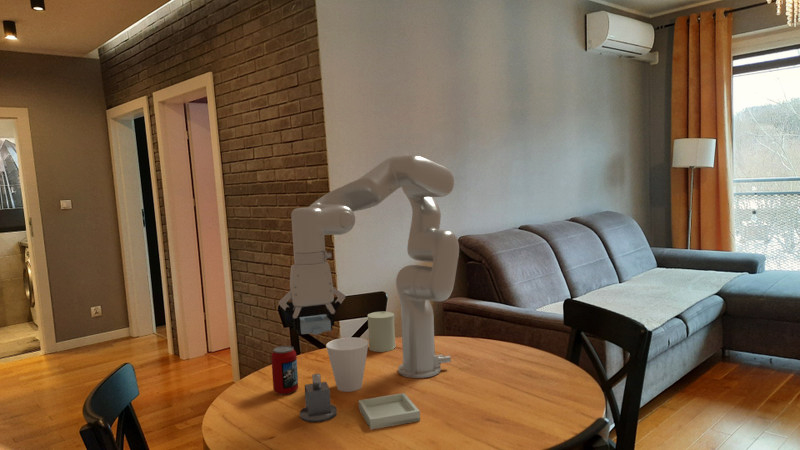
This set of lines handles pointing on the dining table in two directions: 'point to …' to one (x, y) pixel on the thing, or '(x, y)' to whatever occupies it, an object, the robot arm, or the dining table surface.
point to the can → (381, 331)
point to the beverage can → (284, 370)
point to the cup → (348, 362)
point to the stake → (317, 402)
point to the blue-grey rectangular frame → (315, 324)
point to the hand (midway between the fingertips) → (314, 330)
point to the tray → (388, 411)
